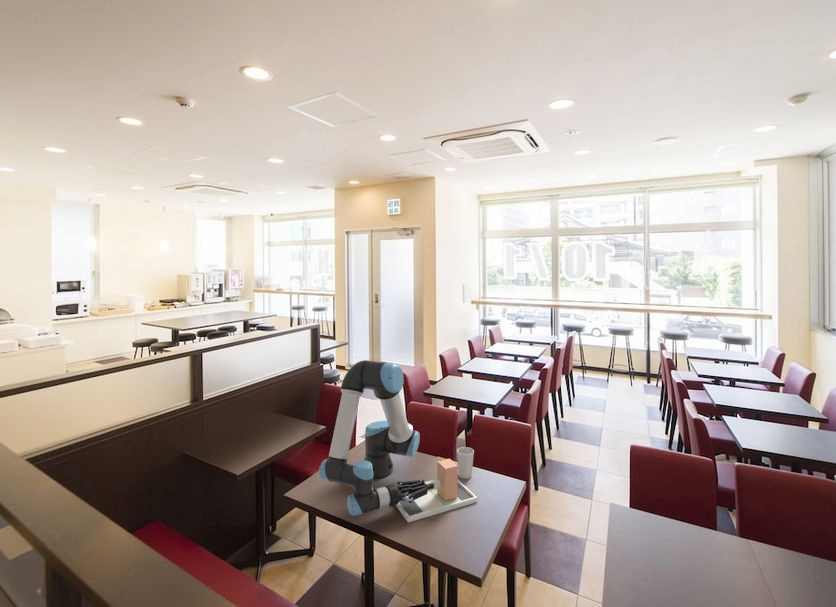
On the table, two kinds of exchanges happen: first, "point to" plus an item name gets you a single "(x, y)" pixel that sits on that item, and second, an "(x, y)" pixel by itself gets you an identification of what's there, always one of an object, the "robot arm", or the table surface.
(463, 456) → the cup
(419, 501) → the sorting tray
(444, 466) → the block
